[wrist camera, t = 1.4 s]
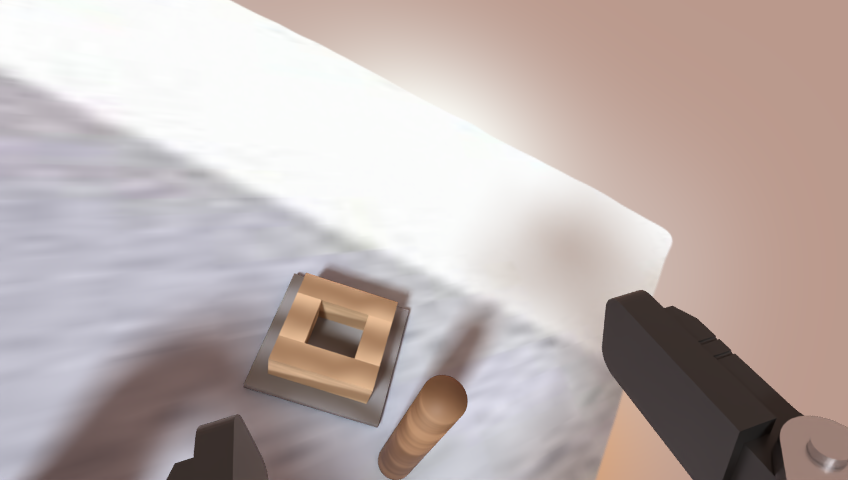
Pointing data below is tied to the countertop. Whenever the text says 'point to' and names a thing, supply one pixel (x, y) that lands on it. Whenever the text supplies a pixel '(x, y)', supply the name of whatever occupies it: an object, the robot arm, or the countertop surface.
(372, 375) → the socket block
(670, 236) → the countertop surface
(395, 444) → the peg
